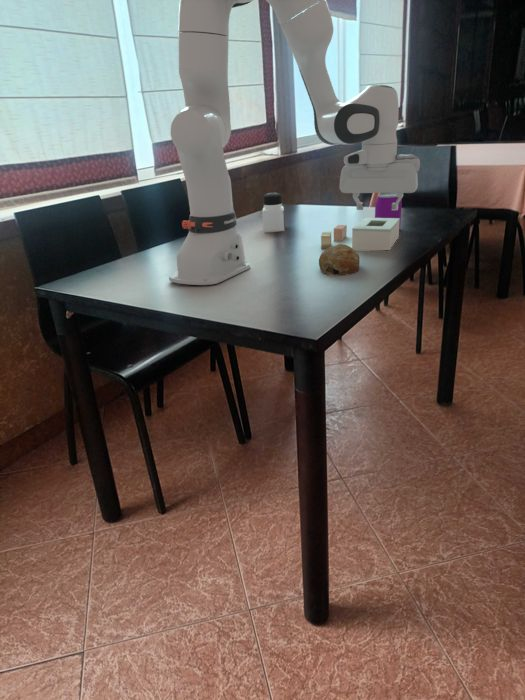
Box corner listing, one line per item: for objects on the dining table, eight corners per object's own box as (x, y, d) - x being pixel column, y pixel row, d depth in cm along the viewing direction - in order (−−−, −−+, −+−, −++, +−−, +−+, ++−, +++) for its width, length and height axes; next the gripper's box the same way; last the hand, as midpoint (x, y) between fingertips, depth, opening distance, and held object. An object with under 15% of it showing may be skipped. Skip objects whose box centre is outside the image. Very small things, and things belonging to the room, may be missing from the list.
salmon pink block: (341, 244, 145) (341, 228, 143) (333, 243, 146) (333, 228, 144) (346, 240, 149) (346, 225, 147) (338, 239, 150) (338, 224, 148)
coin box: (389, 255, 131) (390, 229, 128) (352, 254, 135) (352, 228, 131) (398, 242, 142) (399, 218, 139) (364, 241, 146) (364, 217, 143)
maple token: (330, 251, 139) (330, 235, 137) (321, 251, 139) (321, 235, 137) (331, 247, 143) (331, 231, 141) (322, 247, 144) (322, 231, 142)
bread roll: (317, 286, 121) (312, 264, 115) (325, 256, 127) (321, 233, 120) (357, 289, 118) (354, 265, 112) (364, 257, 123) (361, 234, 117)
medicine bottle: (284, 231, 165) (283, 194, 160) (263, 232, 165) (261, 195, 160) (284, 226, 171) (282, 191, 166) (264, 228, 172) (261, 192, 166)
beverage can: (399, 231, 154) (401, 191, 149) (400, 237, 147) (403, 196, 142) (373, 232, 155) (375, 193, 150) (374, 238, 149) (375, 197, 143)
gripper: (422, 152, 126) (418, 208, 132) (344, 155, 134) (343, 207, 140) (418, 155, 121) (414, 212, 127) (337, 157, 129) (337, 211, 135)
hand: (377, 209), depth 134 cm, fingers open, 8 cm apart
